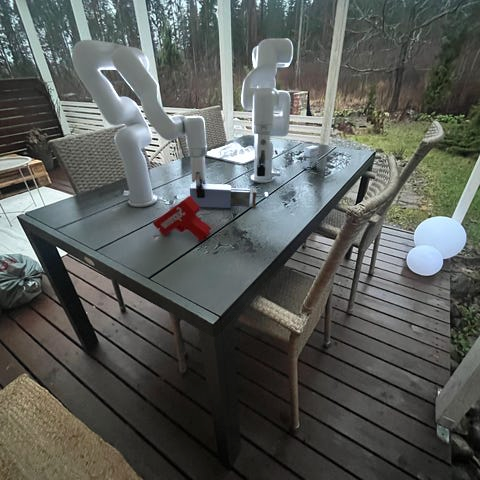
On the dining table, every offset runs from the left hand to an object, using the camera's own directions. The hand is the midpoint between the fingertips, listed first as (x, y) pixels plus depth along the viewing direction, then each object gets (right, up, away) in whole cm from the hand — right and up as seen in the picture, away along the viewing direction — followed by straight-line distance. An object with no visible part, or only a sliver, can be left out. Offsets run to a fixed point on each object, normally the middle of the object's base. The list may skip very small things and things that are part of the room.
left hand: (201, 194), depth 115 cm
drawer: (+17, -4, +3) cm, 18 cm away
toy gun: (-4, -18, -17) cm, 25 cm away
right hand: (+25, +7, -4) cm, 26 cm away
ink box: (+58, +24, +48) cm, 79 cm away
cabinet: (+4, -5, +3) cm, 7 cm away
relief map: (+12, +39, +71) cm, 82 cm away
